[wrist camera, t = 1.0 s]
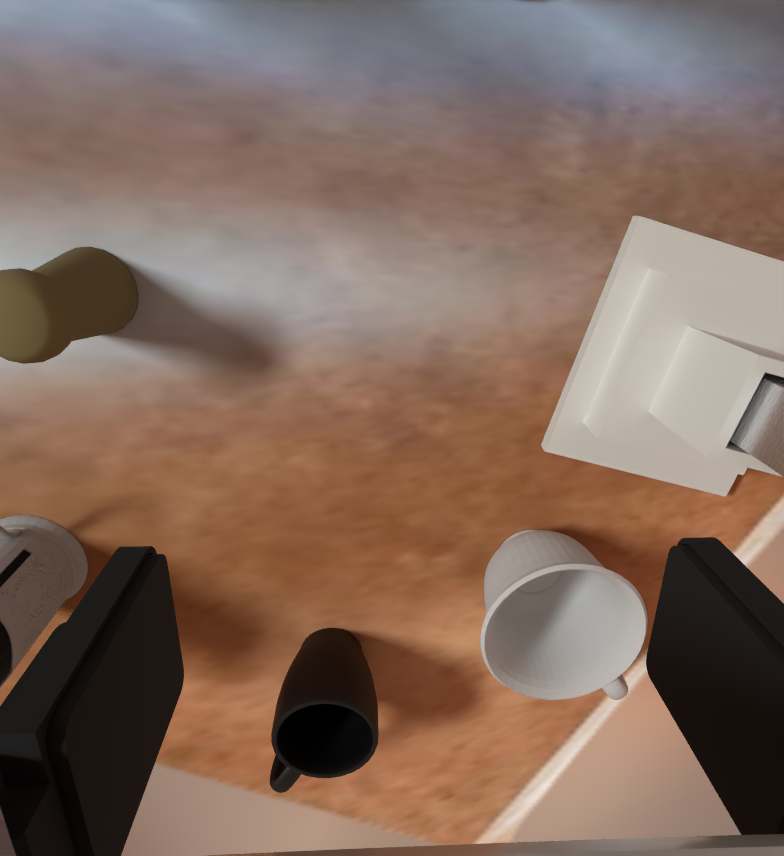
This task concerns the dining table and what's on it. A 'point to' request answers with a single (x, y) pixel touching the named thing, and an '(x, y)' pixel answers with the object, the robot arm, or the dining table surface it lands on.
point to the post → (764, 424)
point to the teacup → (558, 619)
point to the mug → (324, 711)
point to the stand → (673, 359)
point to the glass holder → (34, 581)
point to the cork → (63, 303)
